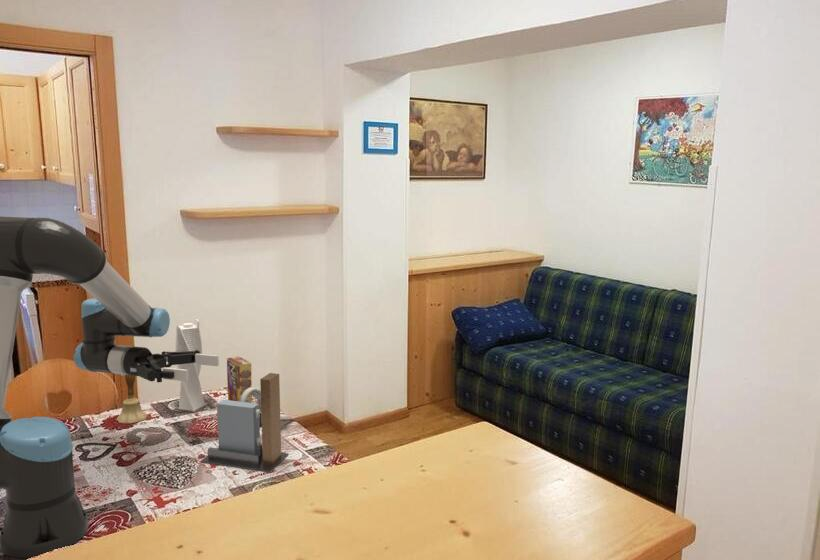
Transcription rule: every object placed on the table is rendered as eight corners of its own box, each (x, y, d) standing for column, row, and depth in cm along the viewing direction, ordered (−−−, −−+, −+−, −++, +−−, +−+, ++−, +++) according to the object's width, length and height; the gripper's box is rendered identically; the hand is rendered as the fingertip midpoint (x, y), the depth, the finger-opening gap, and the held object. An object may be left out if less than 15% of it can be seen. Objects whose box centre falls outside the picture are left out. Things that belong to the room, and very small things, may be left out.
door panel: (258, 461, 160) (256, 408, 157) (219, 456, 162) (216, 403, 160) (263, 456, 163) (262, 404, 160) (225, 451, 165) (223, 399, 163)
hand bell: (130, 411, 192) (127, 360, 189) (153, 415, 190) (150, 363, 187) (110, 421, 184) (106, 368, 182) (133, 425, 182) (130, 371, 179)
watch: (271, 422, 185) (270, 386, 183) (249, 431, 179) (247, 394, 177) (258, 418, 188) (257, 382, 186) (236, 426, 182) (234, 389, 180)
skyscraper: (212, 405, 198) (208, 316, 193) (196, 414, 190) (191, 322, 185) (188, 401, 200) (184, 314, 195) (172, 411, 193) (167, 320, 188)
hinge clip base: (270, 472, 155) (267, 383, 151) (200, 462, 160) (196, 376, 156) (288, 454, 165) (286, 371, 161) (222, 445, 170) (219, 364, 166)
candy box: (253, 411, 194) (251, 362, 191) (240, 414, 191) (238, 365, 188) (240, 402, 200) (239, 355, 198) (227, 405, 198) (225, 358, 195)
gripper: (162, 362, 180) (229, 368, 174) (97, 389, 156) (173, 397, 151) (160, 336, 179) (228, 341, 173) (95, 359, 155) (172, 366, 149)
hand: (203, 367), depth 162 cm, fingers open, 13 cm apart
